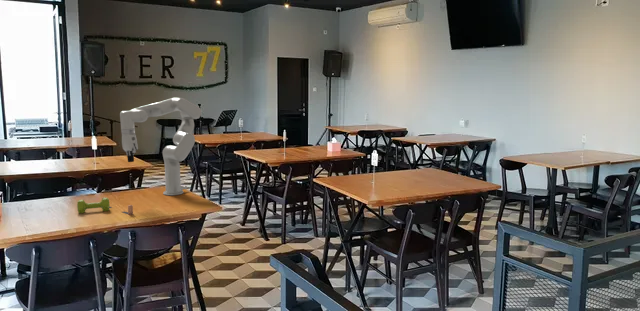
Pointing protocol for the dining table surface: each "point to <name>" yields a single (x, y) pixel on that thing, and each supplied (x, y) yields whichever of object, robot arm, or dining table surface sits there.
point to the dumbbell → (93, 205)
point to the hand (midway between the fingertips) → (130, 161)
